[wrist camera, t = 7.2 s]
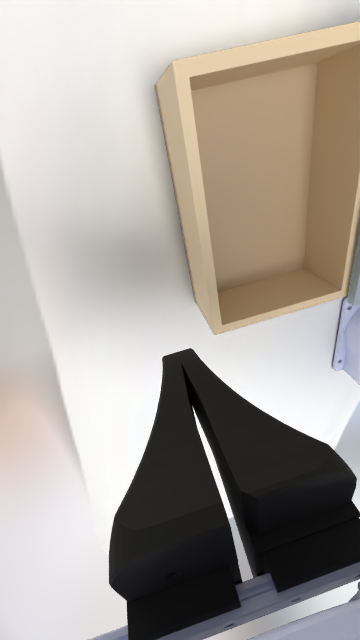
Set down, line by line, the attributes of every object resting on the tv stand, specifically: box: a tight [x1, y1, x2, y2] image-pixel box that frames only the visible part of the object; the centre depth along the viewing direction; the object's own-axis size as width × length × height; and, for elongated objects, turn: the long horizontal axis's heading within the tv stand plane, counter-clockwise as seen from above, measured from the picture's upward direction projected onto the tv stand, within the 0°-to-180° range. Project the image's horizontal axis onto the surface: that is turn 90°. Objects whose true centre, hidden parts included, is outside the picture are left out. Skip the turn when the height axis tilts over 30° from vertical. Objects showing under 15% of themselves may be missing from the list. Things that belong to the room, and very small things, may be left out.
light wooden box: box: [155, 21, 360, 335], centre depth 17 cm, size 14×10×5 cm
